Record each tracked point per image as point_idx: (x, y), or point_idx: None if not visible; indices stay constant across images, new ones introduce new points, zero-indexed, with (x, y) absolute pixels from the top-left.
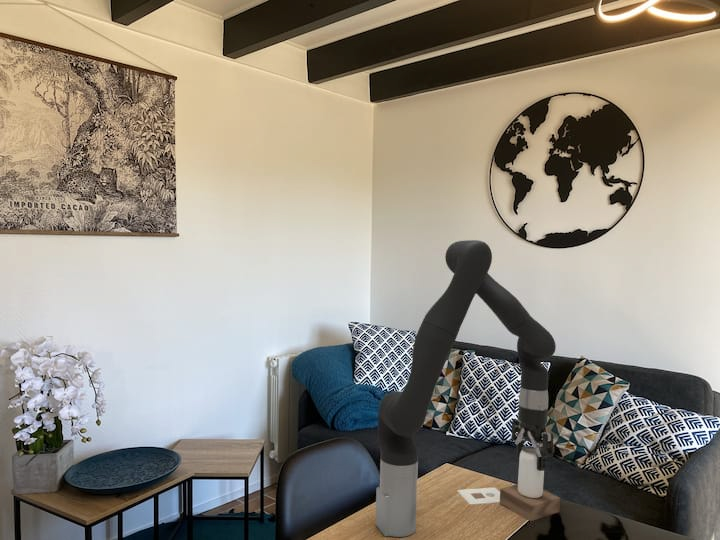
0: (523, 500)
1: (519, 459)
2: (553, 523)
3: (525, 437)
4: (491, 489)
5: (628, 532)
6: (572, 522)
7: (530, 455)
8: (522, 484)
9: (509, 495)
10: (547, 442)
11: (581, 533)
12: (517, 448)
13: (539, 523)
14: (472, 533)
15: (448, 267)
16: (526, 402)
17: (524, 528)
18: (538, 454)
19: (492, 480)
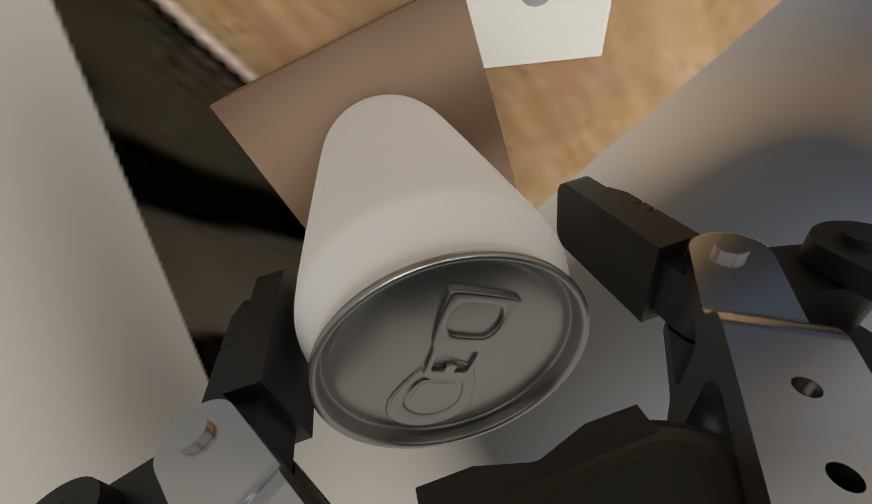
0: (292, 83)
1: (477, 166)
2: (235, 193)
3: (667, 482)
4: (589, 21)
5: None
6: (262, 267)
7: (325, 306)
8: (359, 116)
9: (381, 18)
10: None
11: (162, 269)
12: (646, 222)
13: (220, 126)
14: None
15: None
16: None
17: (122, 3)
18: (195, 428)
19: (664, 80)
